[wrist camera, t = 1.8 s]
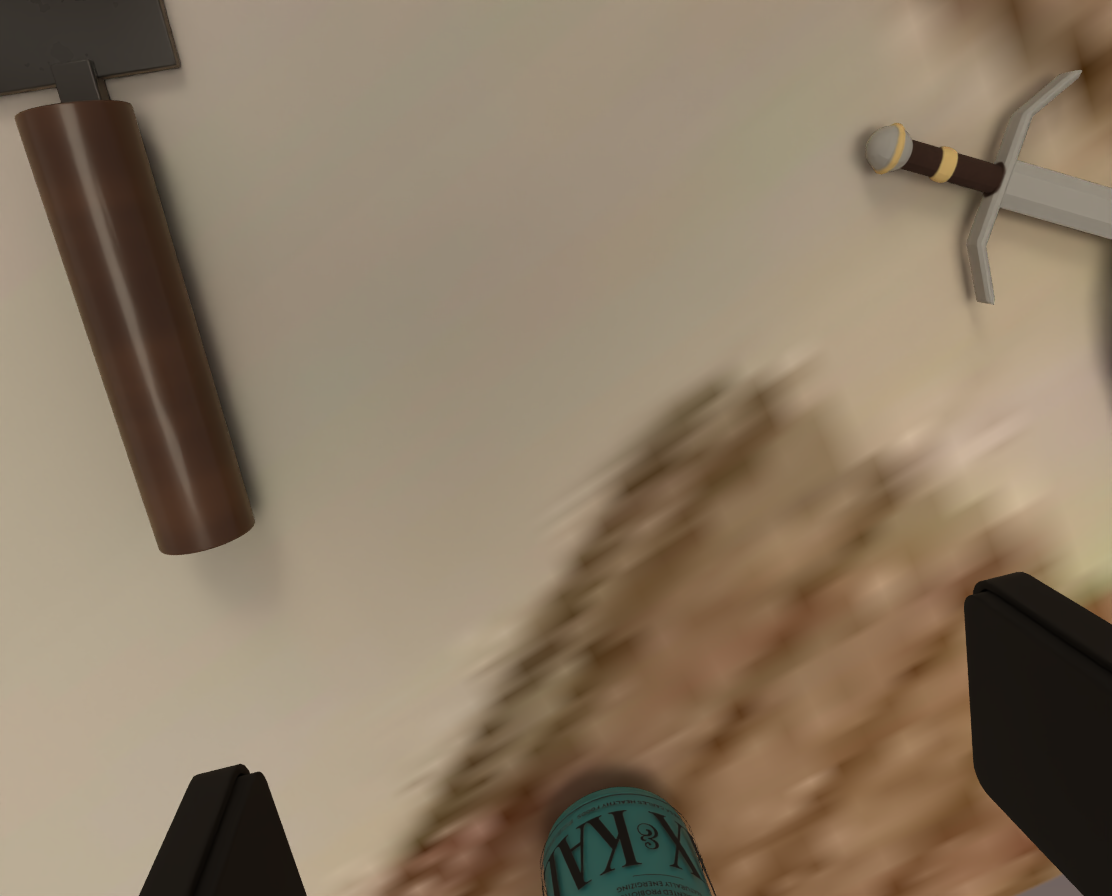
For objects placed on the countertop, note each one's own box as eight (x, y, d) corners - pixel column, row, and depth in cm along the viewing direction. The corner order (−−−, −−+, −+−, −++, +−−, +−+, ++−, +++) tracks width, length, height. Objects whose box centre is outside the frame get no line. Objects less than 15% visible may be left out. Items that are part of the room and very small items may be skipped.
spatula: (-115, -201, 24) (-197, -261, 21) (99, -230, 24) (49, -293, 21) (137, 535, 30) (102, 571, 27) (301, 503, 31) (285, 535, 28)
